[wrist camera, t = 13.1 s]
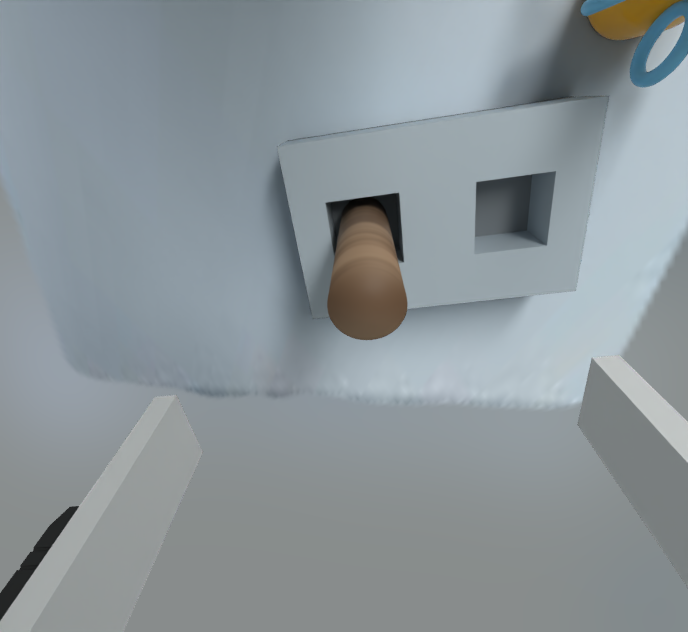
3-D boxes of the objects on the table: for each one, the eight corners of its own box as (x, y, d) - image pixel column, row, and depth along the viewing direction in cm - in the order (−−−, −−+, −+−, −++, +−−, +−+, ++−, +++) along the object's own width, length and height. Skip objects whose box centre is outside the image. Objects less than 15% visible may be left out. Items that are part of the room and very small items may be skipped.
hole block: (288, 140, 31) (276, 146, 27) (571, 96, 29) (609, 95, 24) (317, 294, 38) (312, 319, 33) (549, 267, 35) (575, 290, 31)
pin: (338, 199, 32) (321, 273, 18) (385, 193, 32) (404, 264, 18) (344, 244, 34) (333, 343, 20) (389, 239, 34) (409, 336, 20)
